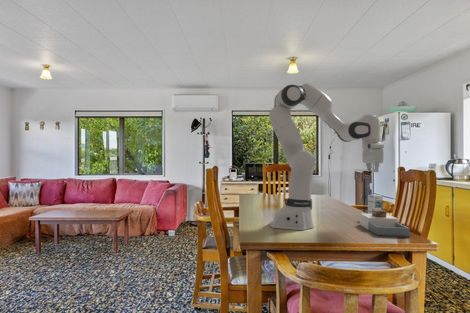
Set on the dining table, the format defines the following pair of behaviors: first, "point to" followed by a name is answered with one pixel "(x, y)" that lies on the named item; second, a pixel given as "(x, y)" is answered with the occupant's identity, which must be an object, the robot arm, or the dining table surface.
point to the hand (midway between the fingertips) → (372, 171)
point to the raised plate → (377, 220)
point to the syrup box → (375, 203)
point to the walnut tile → (378, 213)
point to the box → (389, 230)
